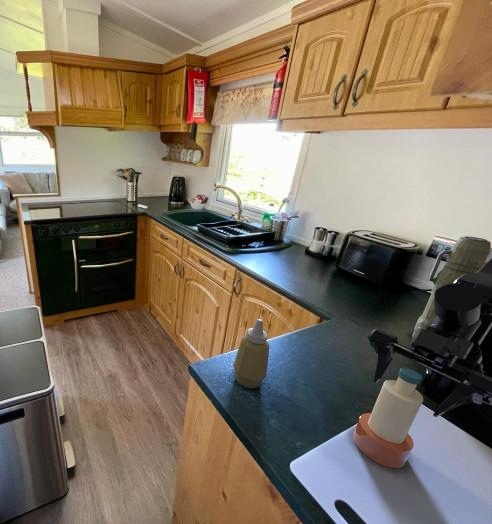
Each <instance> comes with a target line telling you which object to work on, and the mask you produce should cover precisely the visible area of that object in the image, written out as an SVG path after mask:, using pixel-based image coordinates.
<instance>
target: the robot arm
mask: <svg viewBox="0 0 492 524" xmlns="http://www.w3.org/2000/svg"><path fill="white" fill-rule="evenodd" d="M434 301H435V314H436V316H435V318H434V319H433V321H432V322H431V323H430V325H429V326H428V327H427V328H426V329H422V328H420V327H418V329H417V331H416V333H415V334H414V336H413V338H412V337H411V339H410V347H411V348H409V347H407V346H405V345H404V344H401V343H399V340H398V336H396V335H394V334H391V333H389V332H387V331H385V330H383V329H381V328H376V329H373V330H371V331H370V333H369V334H368V336H367V338H368V341H369V344H370V347H372V348H373V350H374V352H375V353H376V354H377V361H376V368H375V372H374V378H373V383H375V384H378V383H379V382H380V381H381V379H382V378H383V376H384V374H385V372H386V371H387V369H388V367H389V366H390V364H391V363H392V361H393V356H392V355H395V353H396V354H398V355H400V356H402V357H404V358H406V359H409V360H410V361H412V362H414V363H417V364H419V365H421V366H423V367H426V368H425V371H424V372H423V375H422V379H421V381H420V386H421V387H422V391H423V393H424V394H426V395H429V396H432V397H434V398H436V399H439V400H441V401H442V402H441V403H440V404H439V405H438V406H437V408H436V409H435V411H434V412H433V414H432V416H433V417H434V418H438V417H440V416H442V415H443V414H446V413H448V412H449V411H452V410H453V409H455V408H457V407H461V406H464V405H467V404H469V403H475V404H477V405H482V404H483V403H484V404H487V405H490V406H492V377H490V376H488V375H486V374H484V373H485V371H484V370H483V369H484V364H482V361H483V354H482V350H481V346H480V345H481V344H482V342H483V341H484V339H485V338H486V336H487V334H488V333H489V331H490V330H491V329H492V249H490V253H489V255H488V257H487V258H486V260H485V262H484V266H483V267H482V268H481V269H480V270H479V271H478V272H476V273H468V274H463V275H462V276H460V277H459V278H458V279H457V280H456V281H451V282H450V283H448V284H447V285H444V286H442V287H440V288H438V289H437V290H436V291H435V294H434Z"/></svg>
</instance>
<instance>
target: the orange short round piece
mask: <svg viewBox="0 0 492 524" xmlns="http://www.w3.org/2000/svg"><path fill="white" fill-rule="evenodd" d="M371 413H372V412H367V413H366V412H365V413H362V414H361V415H360V416H359V418H358V421H357V423H356V426H355V428H354V431H353V433H352V437H353V441H354V444H355V445H356V446H357V447H358V449H359V450H360V451H361V452H362V453H363V454H364V455H365V456H366V457H367V458H369V459H371V460H372V461H374V462H376V463H377V464H379V465H381V466H384V467H387V468H392V469H400V468H402V467H404V466H405V465H406V463H407V460H408V458H409V457H410V455H411V453H412V451H413V449H414V445H415V444H414V441H413V438H412V436H411V435H410V434H409V432H408V433H407V436H406V438H405V440H404V442H403V443H400V444H395V443H391V442H388V441H385V440H383V439H382V438H380V437H379V436H377V435H376V434H375V433H374V432H373V431H372V430H371V429H370V427H369V425H368V421H369V418H370V416H371Z"/></svg>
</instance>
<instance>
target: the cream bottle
mask: <svg viewBox="0 0 492 524" xmlns="http://www.w3.org/2000/svg"><path fill="white" fill-rule="evenodd" d="M397 376H398V377H397V379H396V380H395V379H387V380H385V381H384V382H383V384H382V386H381V389H380V391H379V394H378V396H377V398H376V401H375V403H374V406H373V407H372V411H371V412H370V413H371V416H370V418H369V421H368V425H369V427H370V429H371V430H372V431H373V432H374V433H375V434H376V435H377V436H379V437H380V438H382V439H383V440H385V441H388V442H391V443H395V444H400V443H403V442H404V440H405V438H406V436H407V433H408V434H409V431H410V429H411V427H412V425H413V423H414V421H415V419H416V417H417V415H418V413H419V410H420V408H421V407H422V405H423V402H424V397H423V395H422V394H421V392H420V391H418V390H417V386H418V385H420V384H421V379H422V377H423V375H422V374H420V373H419V372H417V371H416V370H414V369H411V368H408V367H401V368H400V369H399V371H398V373H397Z"/></svg>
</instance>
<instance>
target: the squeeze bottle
mask: <svg viewBox="0 0 492 524" xmlns="http://www.w3.org/2000/svg"><path fill="white" fill-rule="evenodd" d="M269 355H270V343H269V341H268V334H267V332H266V331H264V321H263V319H262V318H257V319H256V321H255V323H254V325H253V327H250V328H248V329H247V330H246V334H244V335H243V336H241V340H240V343H239V346H238V349H237V353H236V355H235V359H234V361H233V365H232V366H233V371H234V376H235V379H236V381H237V383H238V384H239V385H241V386H242V387H245V388H247V389H257V388H258V387H259V386H260V385H261V384H262V383H263V381H264V380H265V379H266V377H267V374H268V366H269V365H268V364H269Z"/></svg>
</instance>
